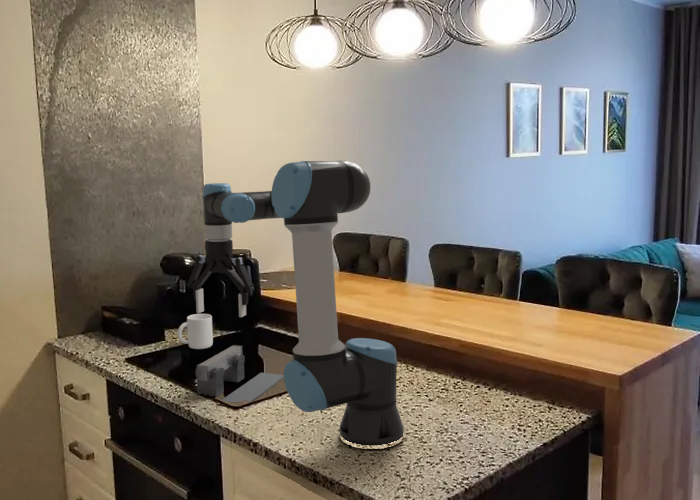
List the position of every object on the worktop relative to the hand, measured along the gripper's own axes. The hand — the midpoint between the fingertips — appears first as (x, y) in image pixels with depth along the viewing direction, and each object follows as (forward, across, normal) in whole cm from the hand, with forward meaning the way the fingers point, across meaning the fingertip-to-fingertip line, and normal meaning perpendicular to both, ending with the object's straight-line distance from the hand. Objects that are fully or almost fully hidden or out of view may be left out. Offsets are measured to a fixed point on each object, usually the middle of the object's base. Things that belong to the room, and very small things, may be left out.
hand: (221, 314), depth 194 cm
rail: (+16, 0, +1) cm, 16 cm away
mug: (+21, +29, -30) cm, 47 cm away
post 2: (+21, 0, -5) cm, 22 cm away
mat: (+21, -10, 0) cm, 23 cm away
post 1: (+21, 0, +7) cm, 22 cm away
